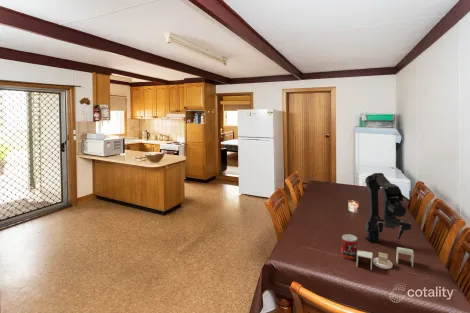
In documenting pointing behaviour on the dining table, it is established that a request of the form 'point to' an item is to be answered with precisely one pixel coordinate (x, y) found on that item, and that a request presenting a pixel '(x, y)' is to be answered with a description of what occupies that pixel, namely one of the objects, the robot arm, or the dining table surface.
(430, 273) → the dining table surface
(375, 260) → the saucer
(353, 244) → the canned food
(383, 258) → the block
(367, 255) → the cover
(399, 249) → the cover
